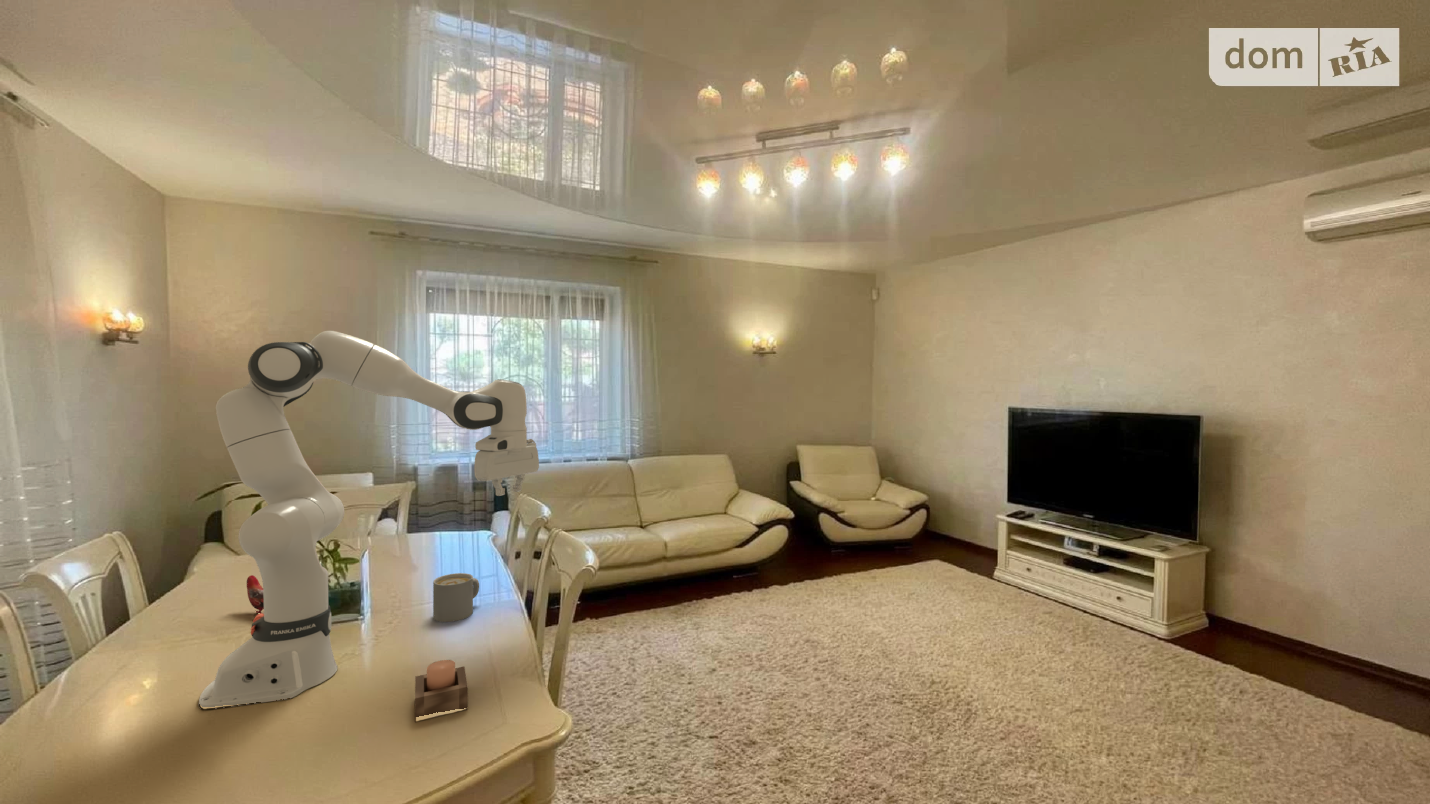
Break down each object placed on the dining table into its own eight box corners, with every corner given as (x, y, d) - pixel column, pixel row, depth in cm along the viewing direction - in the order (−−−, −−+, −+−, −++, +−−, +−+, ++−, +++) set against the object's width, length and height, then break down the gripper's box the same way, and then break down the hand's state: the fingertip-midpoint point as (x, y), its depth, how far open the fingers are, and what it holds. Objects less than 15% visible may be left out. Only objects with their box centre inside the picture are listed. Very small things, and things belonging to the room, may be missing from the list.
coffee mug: (445, 625, 146) (445, 587, 146) (426, 616, 152) (426, 580, 152) (491, 609, 157) (491, 574, 157) (471, 601, 163) (471, 567, 163)
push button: (427, 695, 106) (427, 674, 106) (426, 683, 110) (426, 663, 110) (455, 688, 108) (455, 668, 108) (454, 677, 113) (454, 657, 112)
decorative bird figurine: (254, 607, 157) (254, 572, 157) (282, 620, 148) (282, 583, 148) (241, 610, 154) (241, 575, 154) (269, 624, 145) (269, 587, 145)
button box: (415, 722, 103) (415, 698, 103) (415, 698, 111) (415, 676, 111) (467, 709, 107) (467, 686, 107) (464, 687, 115) (464, 666, 115)
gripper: (526, 437, 156) (526, 486, 157) (470, 443, 137) (470, 499, 138) (544, 438, 154) (544, 488, 154) (489, 444, 135) (489, 501, 135)
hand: (508, 493), depth 146 cm, fingers open, 5 cm apart
